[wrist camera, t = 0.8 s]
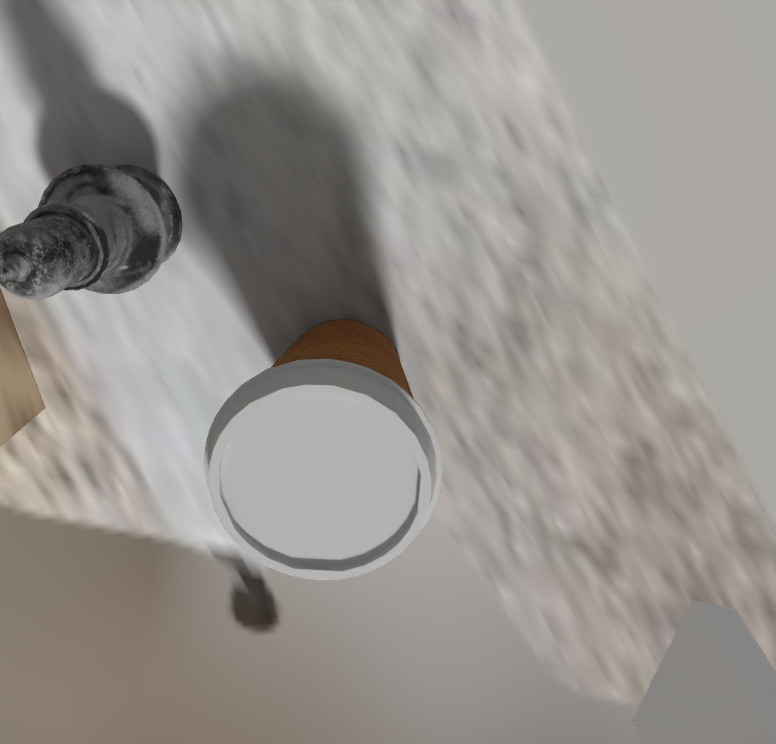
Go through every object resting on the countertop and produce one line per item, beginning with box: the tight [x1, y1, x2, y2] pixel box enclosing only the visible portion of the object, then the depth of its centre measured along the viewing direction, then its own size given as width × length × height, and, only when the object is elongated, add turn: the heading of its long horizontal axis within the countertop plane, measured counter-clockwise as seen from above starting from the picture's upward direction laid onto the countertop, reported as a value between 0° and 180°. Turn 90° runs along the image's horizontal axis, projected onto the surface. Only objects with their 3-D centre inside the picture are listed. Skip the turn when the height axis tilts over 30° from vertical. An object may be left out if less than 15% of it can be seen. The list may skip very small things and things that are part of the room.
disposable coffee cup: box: [204, 320, 443, 580], centre depth 33 cm, size 10×10×12 cm
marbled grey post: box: [0, 165, 182, 299], centre depth 30 cm, size 6×6×12 cm
